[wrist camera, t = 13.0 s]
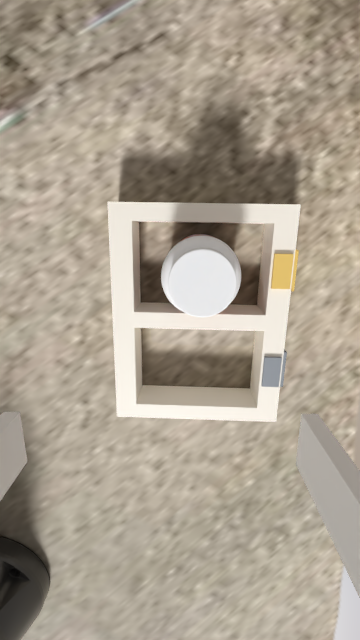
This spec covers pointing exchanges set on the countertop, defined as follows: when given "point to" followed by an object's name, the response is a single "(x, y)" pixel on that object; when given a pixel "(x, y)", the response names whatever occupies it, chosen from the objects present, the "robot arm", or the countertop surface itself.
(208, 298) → the pill bottle
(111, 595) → the countertop surface
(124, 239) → the white divided tray
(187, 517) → the countertop surface
